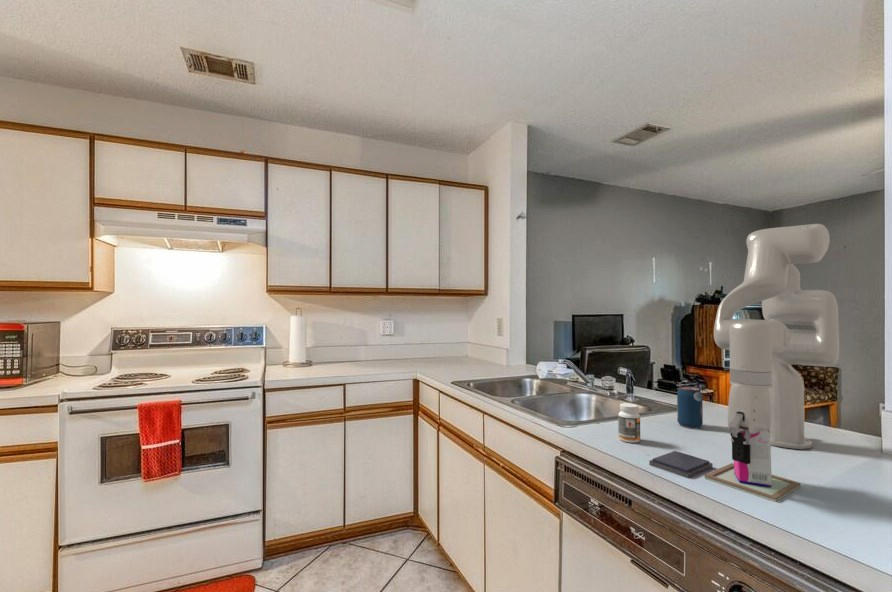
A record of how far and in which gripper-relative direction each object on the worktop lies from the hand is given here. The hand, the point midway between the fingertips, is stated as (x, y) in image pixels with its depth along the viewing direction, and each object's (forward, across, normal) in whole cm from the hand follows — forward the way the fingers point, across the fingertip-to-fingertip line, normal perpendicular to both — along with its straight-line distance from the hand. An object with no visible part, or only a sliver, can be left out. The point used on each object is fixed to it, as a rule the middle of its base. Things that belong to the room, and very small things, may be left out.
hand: (751, 457), depth 90 cm
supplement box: (+5, 0, 0) cm, 5 cm away
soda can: (+6, -32, -29) cm, 44 cm away
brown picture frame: (+5, 0, 0) cm, 5 cm away
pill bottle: (+6, -3, -31) cm, 32 cm away
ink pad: (+5, +4, -13) cm, 15 cm away
